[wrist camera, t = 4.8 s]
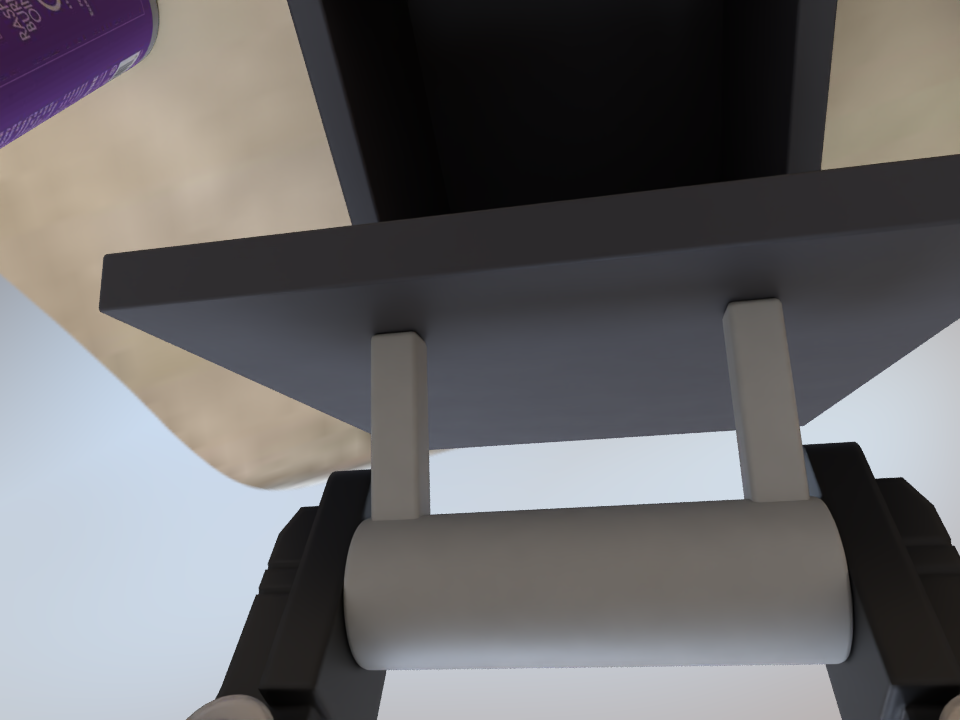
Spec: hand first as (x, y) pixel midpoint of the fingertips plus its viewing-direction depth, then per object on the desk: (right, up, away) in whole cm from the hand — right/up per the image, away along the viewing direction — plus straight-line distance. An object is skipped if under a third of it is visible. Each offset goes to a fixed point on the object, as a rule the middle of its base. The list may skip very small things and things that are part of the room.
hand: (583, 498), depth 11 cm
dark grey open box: (+2, +12, +15) cm, 19 cm away
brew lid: (+1, +2, +4) cm, 5 cm away
